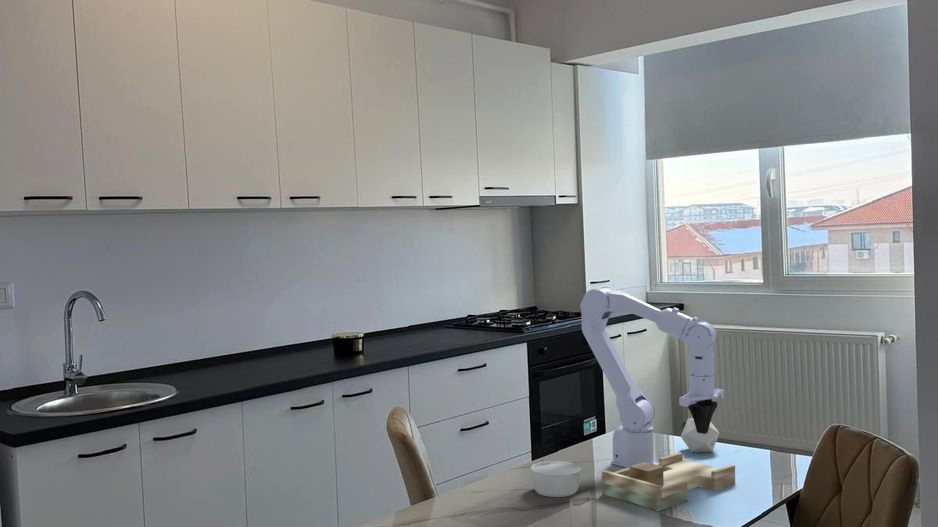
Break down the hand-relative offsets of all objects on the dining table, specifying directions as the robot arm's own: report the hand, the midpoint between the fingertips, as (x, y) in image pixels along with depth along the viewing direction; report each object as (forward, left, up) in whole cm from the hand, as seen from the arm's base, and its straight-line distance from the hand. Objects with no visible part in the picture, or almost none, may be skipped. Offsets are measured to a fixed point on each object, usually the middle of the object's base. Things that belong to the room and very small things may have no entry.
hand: (702, 432), depth 190 cm
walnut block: (+2, -23, -7) cm, 24 cm away
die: (-12, +16, -10) cm, 22 cm away
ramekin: (-14, -34, -10) cm, 38 cm away
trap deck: (+2, -15, -9) cm, 18 cm away
